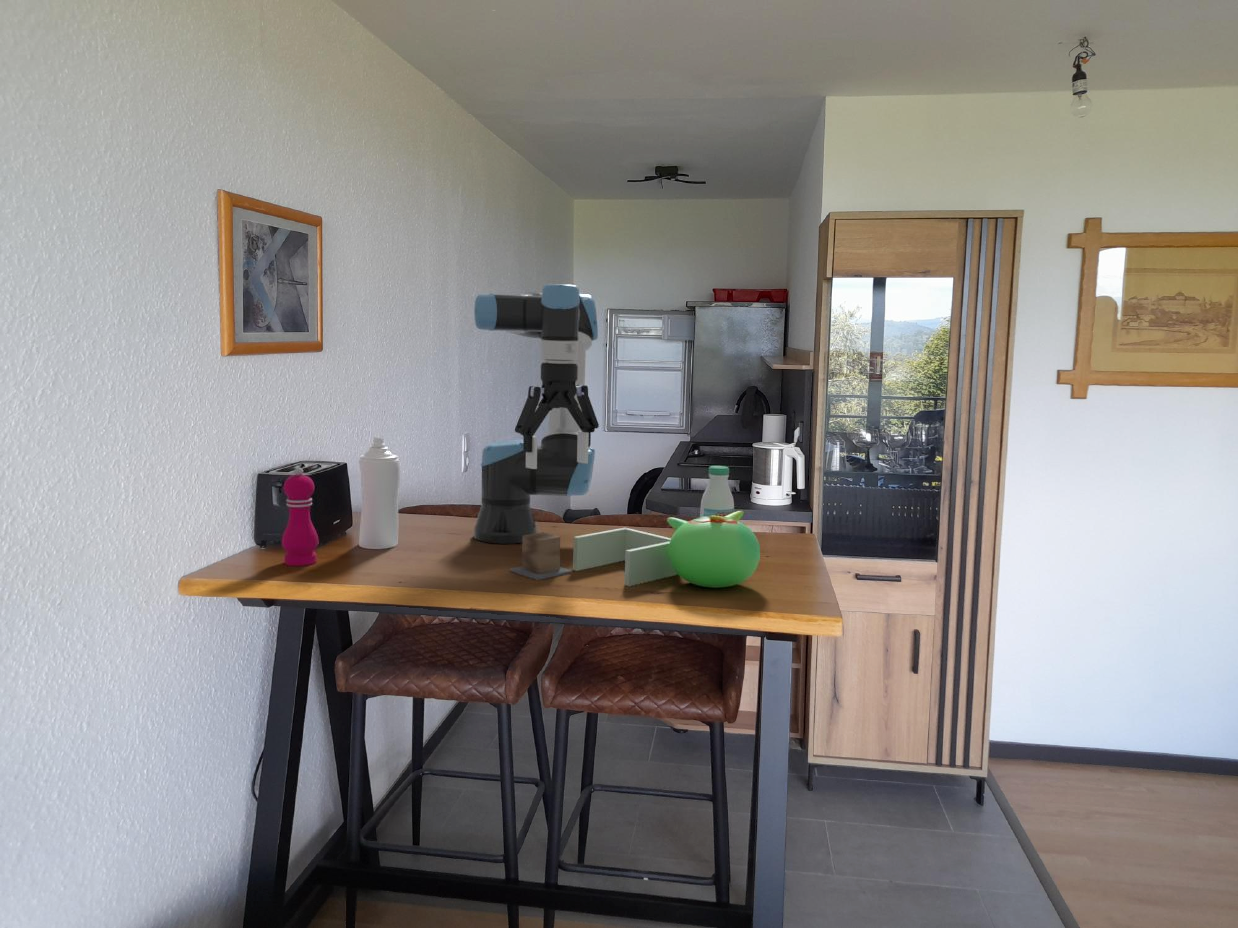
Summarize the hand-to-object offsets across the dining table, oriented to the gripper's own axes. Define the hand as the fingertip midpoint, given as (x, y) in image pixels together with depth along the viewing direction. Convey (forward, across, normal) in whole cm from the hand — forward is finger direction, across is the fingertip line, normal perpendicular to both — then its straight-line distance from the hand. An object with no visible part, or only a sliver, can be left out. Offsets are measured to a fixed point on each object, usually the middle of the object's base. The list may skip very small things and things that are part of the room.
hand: (557, 465), depth 182 cm
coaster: (+22, -5, -1) cm, 22 cm away
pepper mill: (+22, -40, +35) cm, 57 cm away
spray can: (+22, -20, +39) cm, 49 cm away
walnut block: (+21, -5, -1) cm, 22 cm away
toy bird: (+22, +16, -29) cm, 40 cm away
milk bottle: (+22, +38, -12) cm, 45 cm away
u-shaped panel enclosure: (+22, +9, -12) cm, 26 cm away
